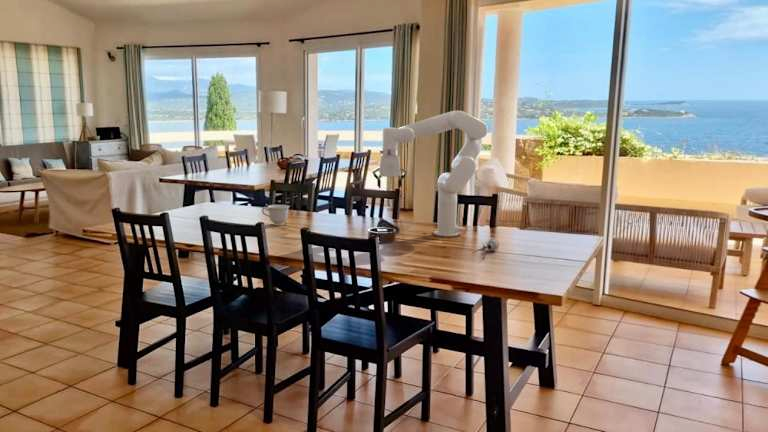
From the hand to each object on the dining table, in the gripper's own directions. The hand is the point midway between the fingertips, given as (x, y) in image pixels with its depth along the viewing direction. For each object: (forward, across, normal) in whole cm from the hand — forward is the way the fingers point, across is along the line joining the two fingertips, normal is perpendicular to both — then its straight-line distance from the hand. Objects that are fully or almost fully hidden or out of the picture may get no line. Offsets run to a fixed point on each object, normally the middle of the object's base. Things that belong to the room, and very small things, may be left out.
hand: (389, 187), depth 285 cm
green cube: (+24, -4, -9) cm, 26 cm away
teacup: (+24, -59, +30) cm, 71 cm away
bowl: (+24, -4, -10) cm, 26 cm away
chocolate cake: (+24, +1, +11) cm, 27 cm away
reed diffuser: (+24, +40, -38) cm, 60 cm away
